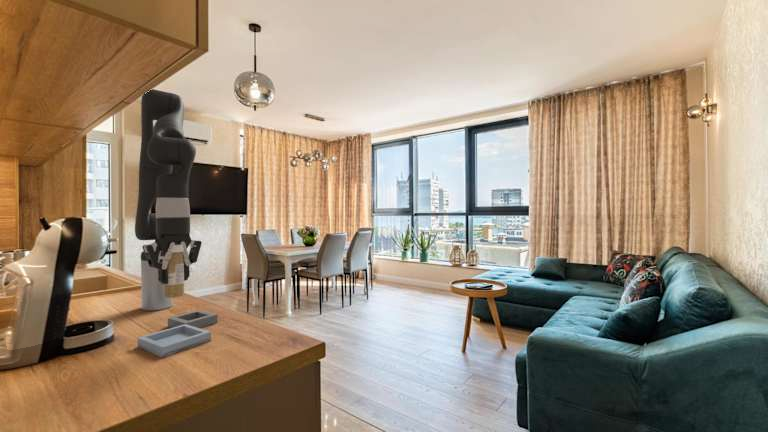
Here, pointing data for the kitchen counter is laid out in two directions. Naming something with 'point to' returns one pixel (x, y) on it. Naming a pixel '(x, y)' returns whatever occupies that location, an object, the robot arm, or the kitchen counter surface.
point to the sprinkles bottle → (175, 273)
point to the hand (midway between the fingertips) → (174, 281)
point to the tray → (173, 340)
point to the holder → (193, 319)
